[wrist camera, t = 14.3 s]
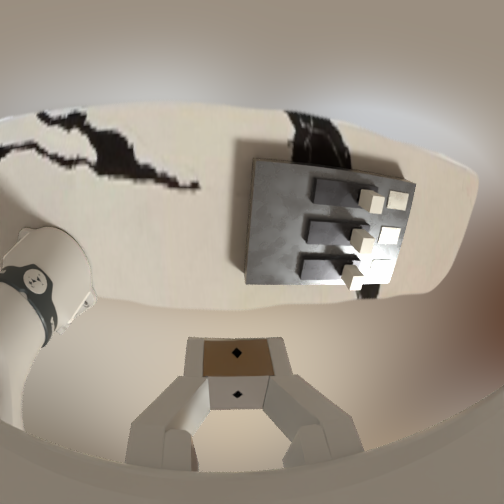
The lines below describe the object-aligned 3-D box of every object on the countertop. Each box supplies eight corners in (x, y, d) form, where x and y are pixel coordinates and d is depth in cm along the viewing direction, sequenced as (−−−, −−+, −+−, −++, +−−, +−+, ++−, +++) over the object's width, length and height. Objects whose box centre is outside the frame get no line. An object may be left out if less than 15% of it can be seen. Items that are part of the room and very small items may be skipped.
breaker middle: (349, 243, 36) (359, 253, 33) (353, 228, 35) (363, 237, 32) (360, 244, 36) (371, 254, 33) (364, 229, 35) (375, 238, 32)
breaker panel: (244, 273, 41) (246, 288, 38) (253, 157, 34) (257, 161, 30) (380, 274, 44) (391, 286, 41) (405, 179, 37) (419, 185, 33)
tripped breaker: (358, 205, 33) (369, 212, 31) (361, 188, 32) (373, 195, 30) (369, 206, 34) (381, 214, 31) (372, 190, 33) (385, 197, 30)
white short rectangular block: (341, 278, 38) (349, 290, 35) (344, 264, 37) (353, 276, 34) (351, 277, 38) (360, 289, 36) (355, 264, 37) (364, 276, 35)
